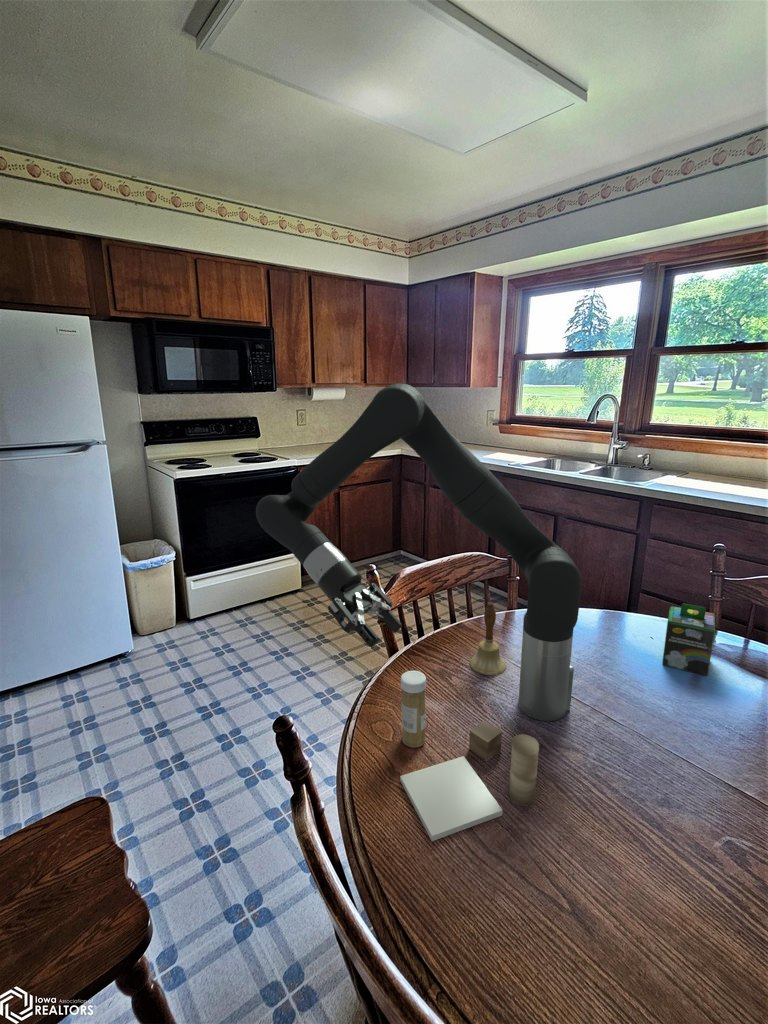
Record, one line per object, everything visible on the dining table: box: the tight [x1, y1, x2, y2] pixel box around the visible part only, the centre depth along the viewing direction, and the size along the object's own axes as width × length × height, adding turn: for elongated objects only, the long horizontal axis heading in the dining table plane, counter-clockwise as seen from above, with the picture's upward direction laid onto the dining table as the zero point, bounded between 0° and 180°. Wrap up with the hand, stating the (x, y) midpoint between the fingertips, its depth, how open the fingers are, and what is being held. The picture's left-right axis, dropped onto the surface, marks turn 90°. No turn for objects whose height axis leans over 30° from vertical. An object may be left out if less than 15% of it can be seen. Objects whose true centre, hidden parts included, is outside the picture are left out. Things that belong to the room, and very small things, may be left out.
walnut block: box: [468, 720, 503, 762], centre depth 89 cm, size 4×4×4 cm
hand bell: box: [469, 601, 507, 676], centre depth 113 cm, size 8×8×16 cm
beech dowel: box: [508, 733, 540, 807], centre depth 78 cm, size 4×4×10 cm
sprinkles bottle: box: [400, 670, 427, 749], centre depth 90 cm, size 5×5×14 cm
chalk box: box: [662, 603, 716, 677], centre depth 113 cm, size 9×9×15 cm
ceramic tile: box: [399, 755, 504, 842], centre depth 79 cm, size 12×12×1 cm
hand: (387, 636), depth 90 cm, fingers open, 8 cm apart
